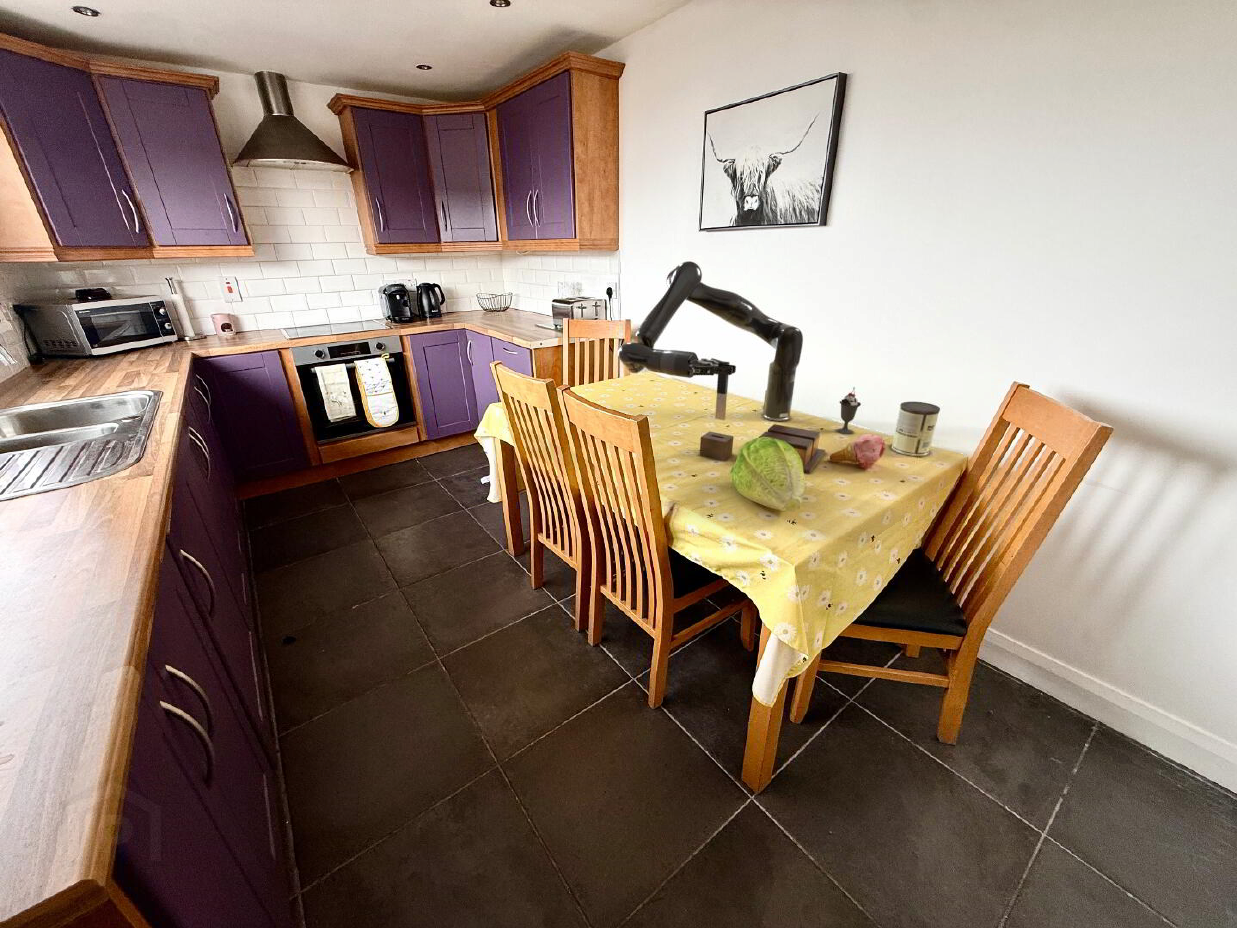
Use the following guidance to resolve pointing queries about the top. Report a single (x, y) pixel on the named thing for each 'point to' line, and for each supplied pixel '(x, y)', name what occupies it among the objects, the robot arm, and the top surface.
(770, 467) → the lettuce
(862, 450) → the ice cream
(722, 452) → the knife block
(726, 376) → the knife
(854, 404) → the sundae
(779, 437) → the slotted wooden block
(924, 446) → the coffee can
